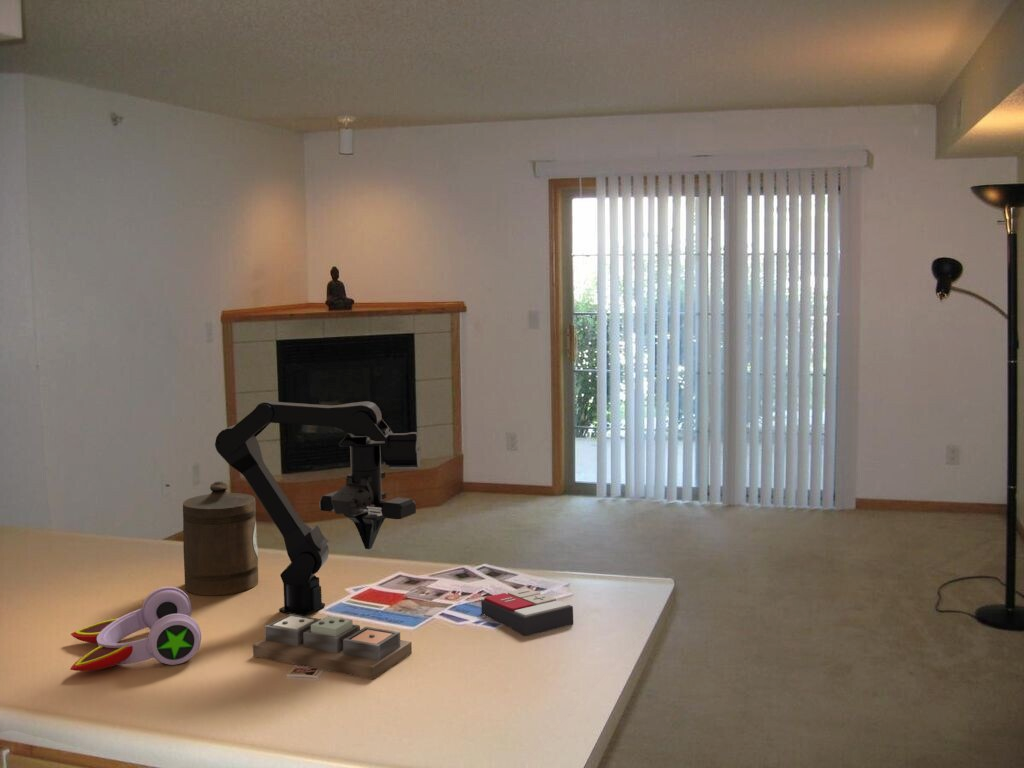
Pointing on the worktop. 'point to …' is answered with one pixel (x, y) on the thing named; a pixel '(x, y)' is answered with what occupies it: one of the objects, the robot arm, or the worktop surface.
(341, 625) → the button sage
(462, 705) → the worktop surface
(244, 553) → the wooden container
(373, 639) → the button terracotta
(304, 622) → the button cream
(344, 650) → the button panel
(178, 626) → the headphones
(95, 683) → the worktop surface
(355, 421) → the robot arm
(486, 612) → the calculator
